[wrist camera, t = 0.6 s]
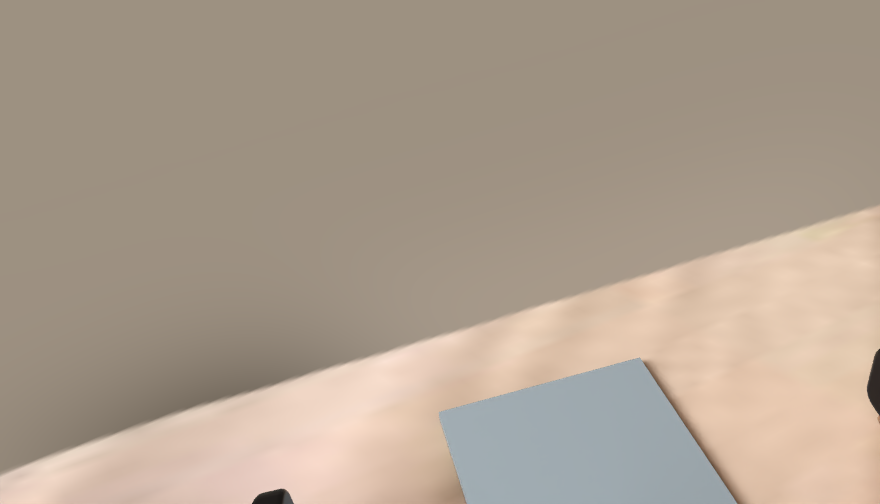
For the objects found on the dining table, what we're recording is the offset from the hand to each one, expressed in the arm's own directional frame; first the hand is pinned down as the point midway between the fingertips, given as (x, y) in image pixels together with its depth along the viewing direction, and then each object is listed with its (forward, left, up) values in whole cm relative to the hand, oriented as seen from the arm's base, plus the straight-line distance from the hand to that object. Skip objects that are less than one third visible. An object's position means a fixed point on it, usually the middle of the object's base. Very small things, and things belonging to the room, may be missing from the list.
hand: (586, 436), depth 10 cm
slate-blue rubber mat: (+8, -5, -17) cm, 19 cm away
